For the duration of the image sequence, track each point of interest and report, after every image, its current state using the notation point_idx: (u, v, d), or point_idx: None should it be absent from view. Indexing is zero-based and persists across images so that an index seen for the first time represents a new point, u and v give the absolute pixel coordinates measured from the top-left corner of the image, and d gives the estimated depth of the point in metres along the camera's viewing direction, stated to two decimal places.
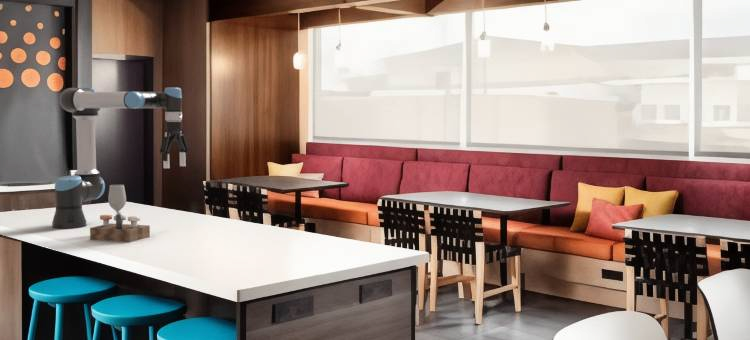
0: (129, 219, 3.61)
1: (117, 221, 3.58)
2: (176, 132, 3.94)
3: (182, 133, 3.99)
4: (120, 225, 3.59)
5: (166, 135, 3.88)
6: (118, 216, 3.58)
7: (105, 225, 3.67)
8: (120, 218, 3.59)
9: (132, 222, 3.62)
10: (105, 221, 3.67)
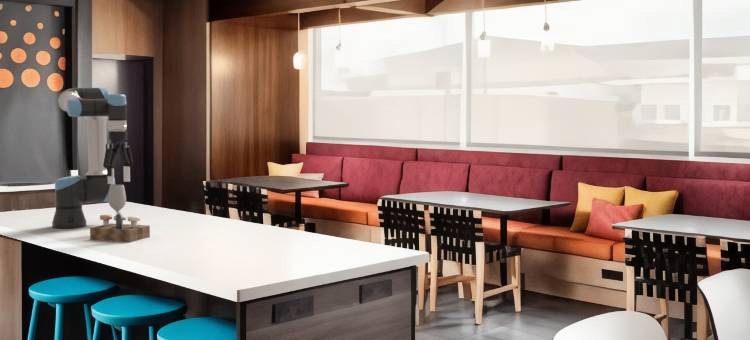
0: (129, 219, 3.61)
1: (117, 221, 3.58)
2: (120, 142, 3.63)
3: (127, 144, 3.68)
4: (120, 225, 3.59)
5: (109, 147, 3.57)
6: (118, 216, 3.58)
7: (105, 225, 3.67)
8: (120, 218, 3.59)
9: (132, 222, 3.62)
10: (105, 221, 3.67)
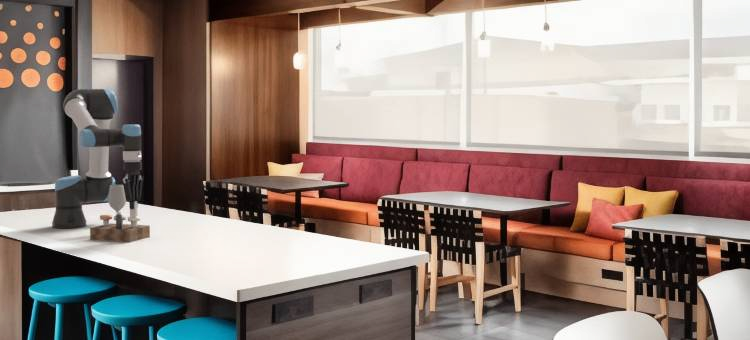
0: (129, 219, 3.61)
1: (117, 221, 3.58)
2: (135, 173, 3.62)
3: (141, 177, 3.66)
4: (120, 225, 3.59)
5: (125, 182, 3.57)
6: (118, 216, 3.58)
7: (105, 225, 3.67)
8: (120, 218, 3.59)
9: (132, 222, 3.62)
10: (105, 221, 3.67)
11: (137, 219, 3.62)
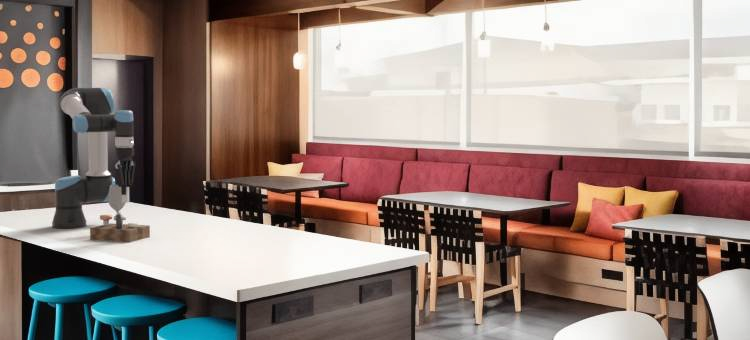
0: (129, 225, 3.62)
1: (117, 221, 3.58)
2: (127, 159, 3.63)
3: (133, 163, 3.68)
4: (120, 225, 3.59)
5: (117, 168, 3.58)
6: (118, 216, 3.58)
7: (105, 225, 3.67)
8: (120, 218, 3.59)
9: None
10: (105, 221, 3.67)
11: (137, 225, 3.62)
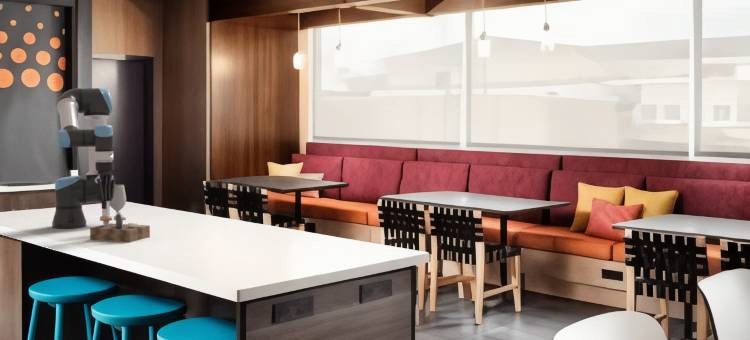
0: (129, 225, 3.62)
1: (117, 221, 3.58)
2: (107, 173, 3.66)
3: (114, 177, 3.71)
4: (120, 225, 3.59)
5: (97, 182, 3.61)
6: (118, 216, 3.58)
7: (105, 226, 3.67)
8: (120, 218, 3.59)
9: None
10: (105, 222, 3.67)
11: (137, 225, 3.62)
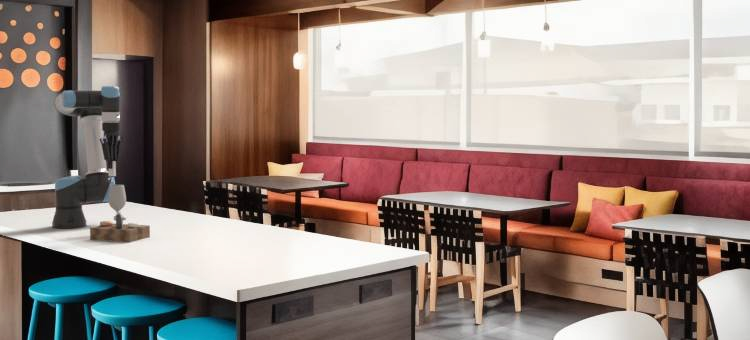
0: (129, 225, 3.62)
1: (117, 221, 3.58)
2: (113, 133, 3.72)
3: (120, 138, 3.77)
4: (120, 225, 3.59)
5: (103, 142, 3.67)
6: (118, 216, 3.58)
7: None
8: (120, 218, 3.59)
9: None
10: None
11: (137, 225, 3.62)
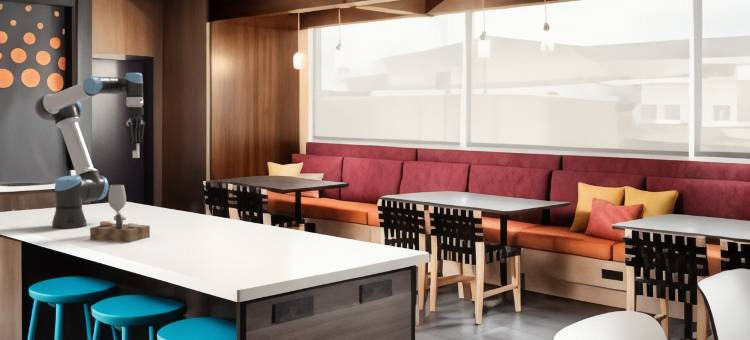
0: (129, 225, 3.62)
1: (117, 221, 3.58)
2: (137, 117, 3.94)
3: (143, 122, 3.99)
4: (120, 225, 3.59)
5: (128, 125, 3.89)
6: (118, 216, 3.58)
7: None
8: (120, 218, 3.59)
9: None
10: None
11: (137, 225, 3.62)
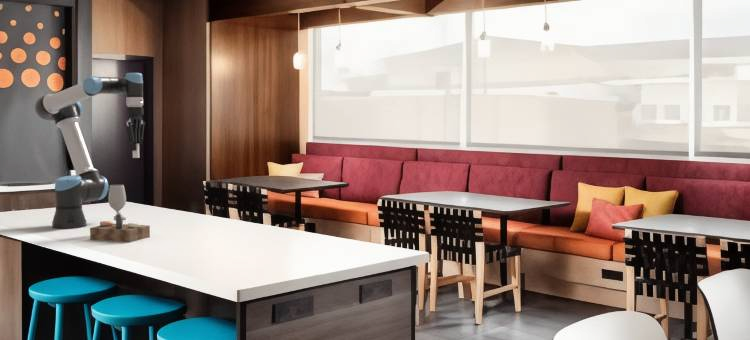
0: (129, 225, 3.62)
1: (117, 221, 3.58)
2: (137, 117, 3.94)
3: (143, 122, 3.99)
4: (120, 225, 3.59)
5: (128, 125, 3.89)
6: (118, 216, 3.58)
7: None
8: (120, 218, 3.59)
9: None
10: None
11: (137, 225, 3.62)
